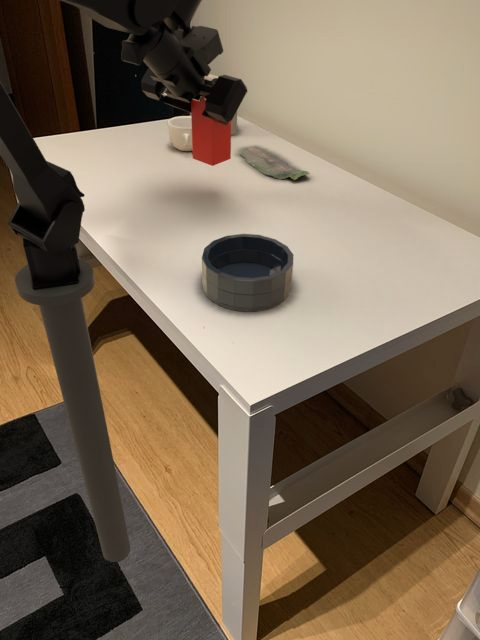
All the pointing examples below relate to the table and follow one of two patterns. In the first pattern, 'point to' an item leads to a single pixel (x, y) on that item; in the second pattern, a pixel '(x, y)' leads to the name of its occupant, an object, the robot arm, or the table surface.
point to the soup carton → (209, 135)
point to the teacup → (181, 132)
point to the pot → (247, 272)
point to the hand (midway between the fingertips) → (217, 118)
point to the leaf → (270, 164)
